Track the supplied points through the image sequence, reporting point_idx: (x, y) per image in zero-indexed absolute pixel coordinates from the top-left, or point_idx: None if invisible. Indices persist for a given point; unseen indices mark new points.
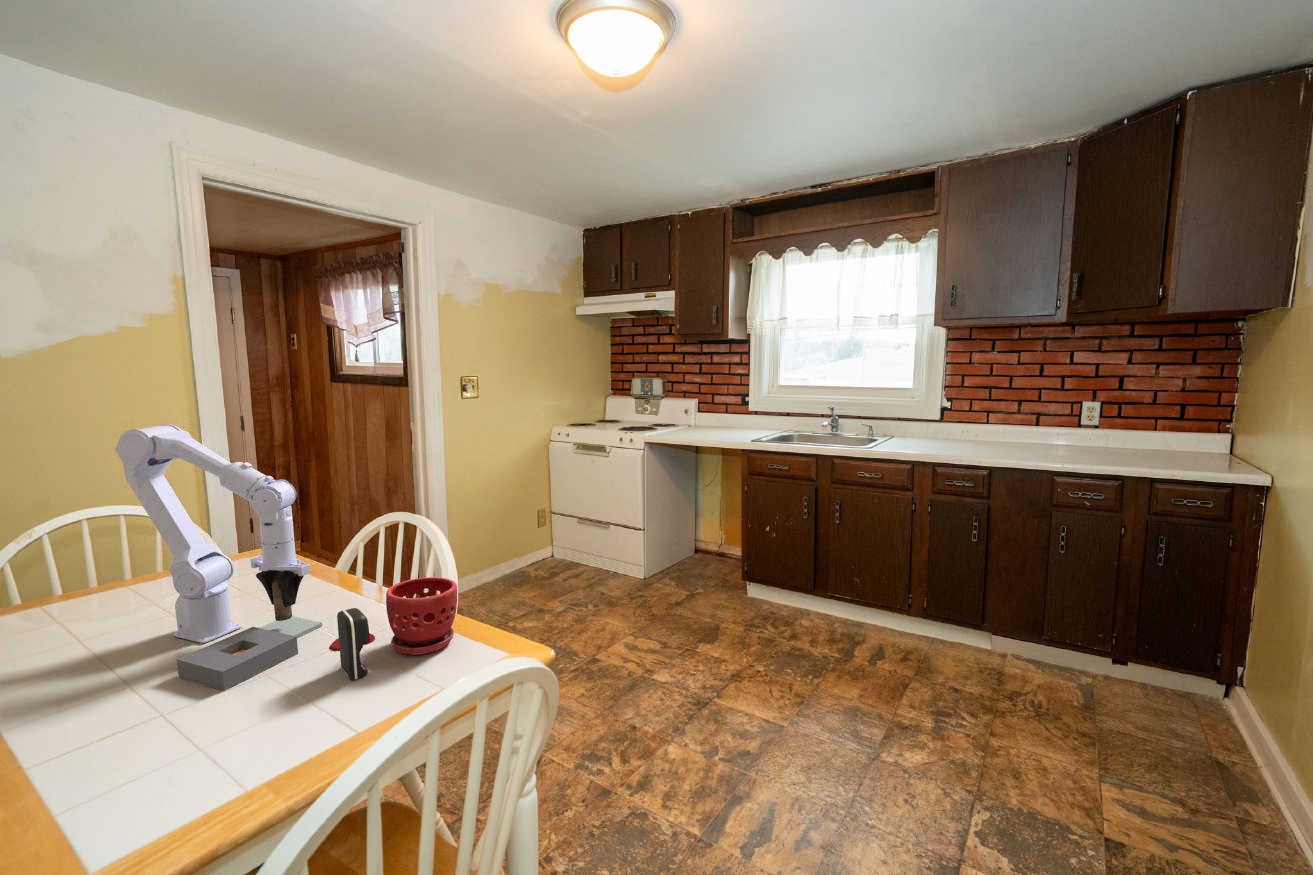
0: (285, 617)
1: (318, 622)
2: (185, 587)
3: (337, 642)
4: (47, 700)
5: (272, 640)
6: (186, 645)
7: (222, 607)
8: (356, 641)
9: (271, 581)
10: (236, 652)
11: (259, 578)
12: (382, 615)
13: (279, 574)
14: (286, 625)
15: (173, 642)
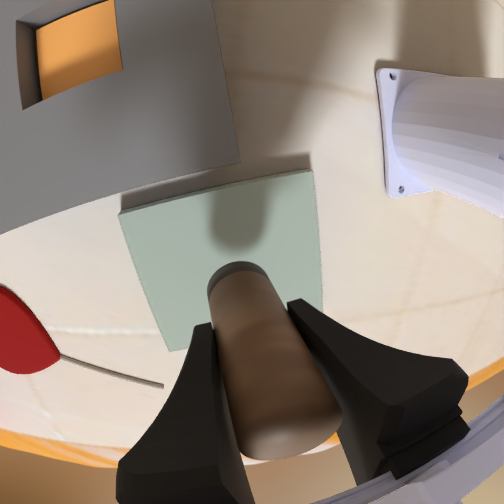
0: (208, 291)
1: (180, 347)
2: None
3: (10, 312)
4: None
5: (15, 159)
6: (404, 50)
7: (458, 157)
8: None
9: (348, 399)
10: (115, 46)
11: (422, 369)
12: (120, 429)
13: (355, 451)
14: None
15: (442, 56)
